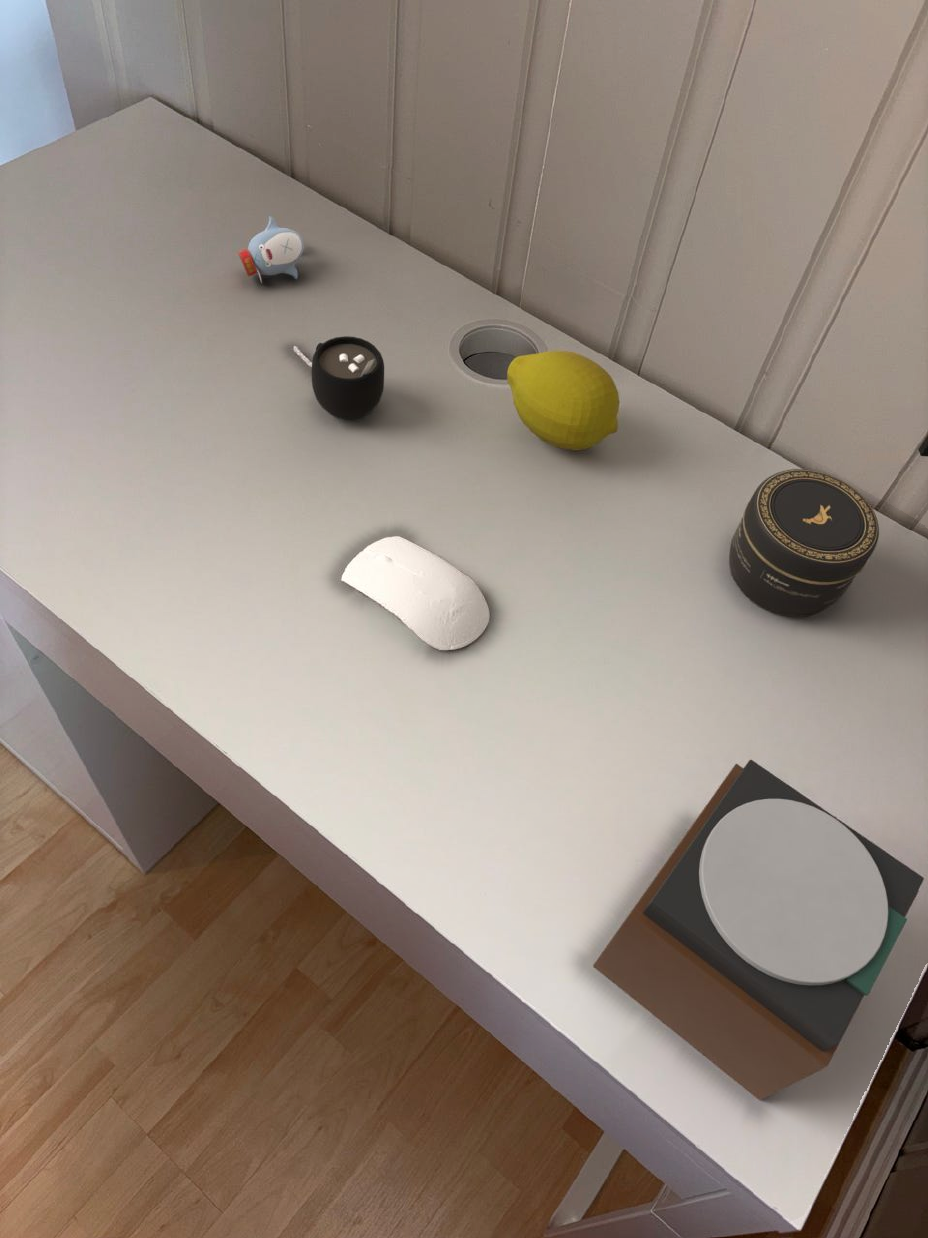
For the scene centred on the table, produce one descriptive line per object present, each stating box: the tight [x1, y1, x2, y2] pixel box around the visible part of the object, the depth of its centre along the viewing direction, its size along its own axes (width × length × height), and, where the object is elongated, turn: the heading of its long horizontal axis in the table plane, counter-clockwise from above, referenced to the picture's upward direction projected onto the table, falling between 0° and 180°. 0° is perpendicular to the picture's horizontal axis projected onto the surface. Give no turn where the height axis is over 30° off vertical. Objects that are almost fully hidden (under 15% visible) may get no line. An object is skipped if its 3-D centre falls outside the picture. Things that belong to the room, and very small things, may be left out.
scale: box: [592, 759, 925, 1101], centre depth 57 cm, size 12×12×13 cm
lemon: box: [506, 350, 620, 451], centre depth 84 cm, size 11×8×8 cm
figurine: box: [237, 215, 305, 284], centre depth 96 cm, size 5×8×4 cm
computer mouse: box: [340, 535, 490, 651], centre depth 75 cm, size 7×12×2 cm, turn 49°
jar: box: [728, 468, 880, 617], centre depth 77 cm, size 10×10×8 cm
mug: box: [292, 335, 385, 420], centre depth 85 cm, size 12×6×8 cm, turn 40°
